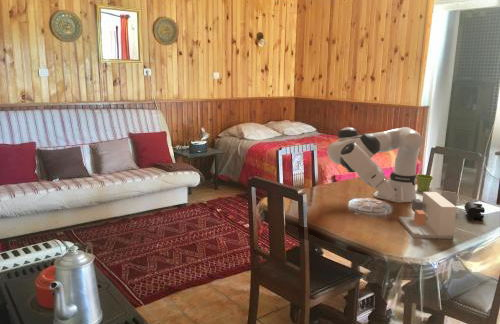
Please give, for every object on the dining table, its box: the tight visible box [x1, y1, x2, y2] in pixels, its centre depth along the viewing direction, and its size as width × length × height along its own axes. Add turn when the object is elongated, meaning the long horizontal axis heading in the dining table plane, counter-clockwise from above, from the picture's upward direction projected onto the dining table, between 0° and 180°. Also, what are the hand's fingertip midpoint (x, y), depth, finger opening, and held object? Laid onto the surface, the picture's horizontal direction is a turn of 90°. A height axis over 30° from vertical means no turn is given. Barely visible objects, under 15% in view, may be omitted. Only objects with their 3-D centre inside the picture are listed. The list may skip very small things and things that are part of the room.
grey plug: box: [411, 198, 425, 213], centre depth 190 cm, size 4×5×5 cm
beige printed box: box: [440, 190, 458, 207], centre depth 208 cm, size 4×7×10 cm, turn 56°
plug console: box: [398, 191, 458, 240], centre depth 183 cm, size 16×22×14 cm
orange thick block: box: [413, 210, 428, 225], centre depth 175 cm, size 4×5×5 cm
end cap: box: [464, 200, 486, 222], centre depth 199 cm, size 10×7×7 cm
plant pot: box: [416, 173, 434, 193], centre depth 244 cm, size 9×9×9 cm
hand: (394, 198), depth 174 cm, fingers closed
